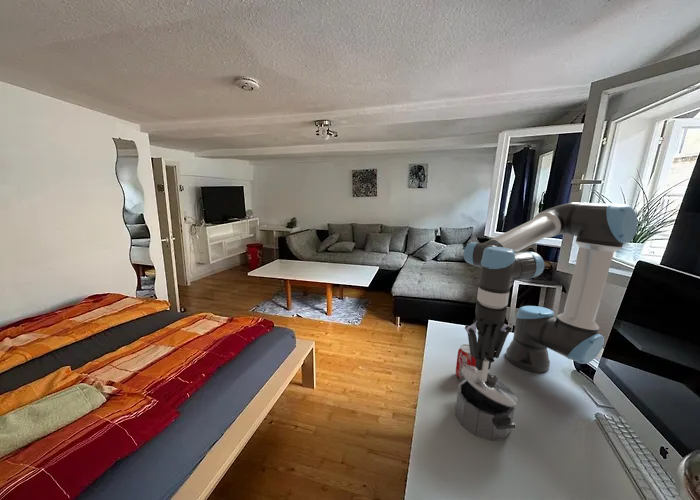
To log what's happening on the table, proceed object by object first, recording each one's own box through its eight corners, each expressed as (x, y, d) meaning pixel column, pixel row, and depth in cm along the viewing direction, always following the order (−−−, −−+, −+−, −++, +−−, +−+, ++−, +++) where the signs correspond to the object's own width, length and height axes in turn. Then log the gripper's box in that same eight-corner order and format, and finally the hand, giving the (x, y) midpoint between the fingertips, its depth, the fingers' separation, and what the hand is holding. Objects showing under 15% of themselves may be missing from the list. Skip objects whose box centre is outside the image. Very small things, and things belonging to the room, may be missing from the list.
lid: (493, 375, 91) (497, 366, 90) (529, 413, 75) (535, 403, 75) (452, 362, 87) (456, 353, 87) (481, 399, 72) (487, 388, 71)
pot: (488, 392, 94) (491, 372, 92) (532, 443, 75) (537, 419, 74) (443, 396, 92) (445, 375, 90) (477, 450, 73) (481, 425, 71)
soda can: (477, 385, 98) (481, 355, 95) (456, 382, 99) (460, 352, 96) (473, 373, 104) (476, 344, 102) (453, 370, 106) (456, 342, 103)
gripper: (504, 297, 80) (493, 368, 85) (462, 298, 78) (453, 371, 83) (523, 308, 73) (510, 385, 78) (477, 310, 71) (467, 389, 76)
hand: (481, 378), depth 80 cm, fingers closed
